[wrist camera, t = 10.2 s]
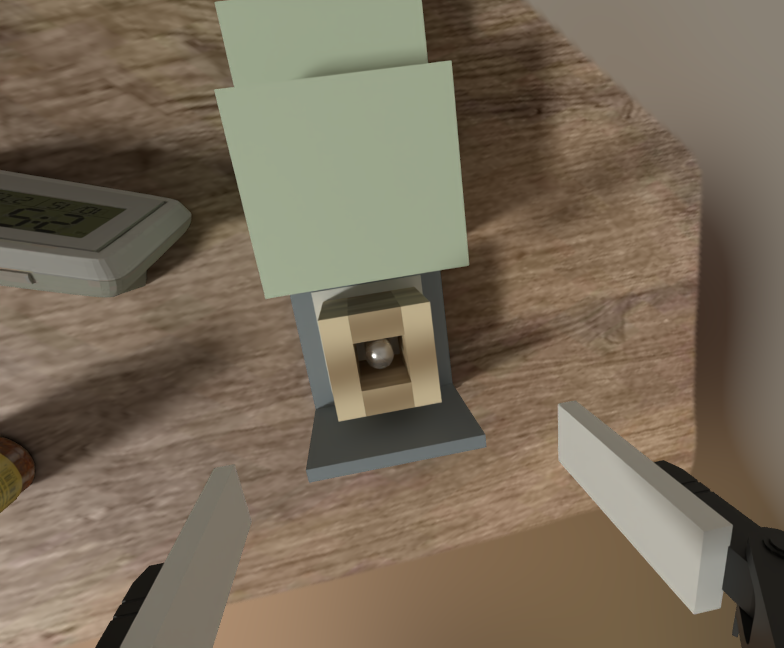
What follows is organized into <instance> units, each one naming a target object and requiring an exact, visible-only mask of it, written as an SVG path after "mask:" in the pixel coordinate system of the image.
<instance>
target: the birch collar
mask: <svg viewBox="0 0 784 648" xmlns="http://www.w3.org/2000/svg"><path fill="white" fill-rule="evenodd" d="M318 325H319V330H320V335H321V339H322V344H323V349H324V354H325V359H326V363H327V368H328V373H329V378H330V383H331V387H332V392H333V397H334V402H335V407H336V412H337V416H338V421H345V420H350V419H355V418H361V417H366V416H371V415H376V414H382V413H387V412H392V411H398V410H403V409H408V408H414V407H419V406H424V405H429V404H435V403H440V402H442V400H441V391H440V383H439V375H438V366H437V358H436V349H435V341H434V332H433V324H432V315H431V307H430V301H428V300H427V299H426V298H425V297H424V296H423V295H422V294H421V293H420V292H419V291H418V290H417V289H416V288H415V287H410V288H404V289H397V290H391V291H385V292H379V293H373V294H367V295H361V296H355V297H349V298H343V299H337V300H331V301H325V302H323V304H322V307H321V311H320V314H319V318H318ZM395 336H398V343H399V350H400V354H395V355H394V357H393V360H392V362H391V364H390V365H389V366H387V367H385V368H382V369H377V368H374V367H372V366H370V365H369V363H368V362H367V360H362V361H359V359H358V353H357V348H356V343H361V342H367V341H372V340H378V339H384V338H389V337H395Z"/></svg>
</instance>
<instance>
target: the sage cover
mask: <svg viewBox="0 0 784 648" xmlns="http://www.w3.org/2000/svg"><path fill="white" fill-rule="evenodd" d="M215 6H216V10H217V15H218V19H219V23H220V28H221V32H222V36H223V40H224V45H225V49H226V53H227V58H228V62H229V66H230V71H231V75H232V79H233V84H234V87H231V88H223V89H215V90H214V91H215V95H216V99H217V103H218V107H219V111H220V115H221V119H222V123H223V127H224V132H225V136H226V140H227V144H228V148H229V152H230V156H231V160H232V164H233V168H234V172H235V176H236V180H237V185H238V189H239V193H240V197H241V201H242V205H243V209H244V213H245V217H246V221H247V225H248V229H249V233H250V238H251V242H252V246H253V250H254V254H255V258H256V262H257V266H258V270H259V274H260V278H261V282H262V286H263V291H264V295H265V299H268V298H274V297H280V296H286V295H292V294H298V293H304V292H310V291H316V290H323V289H329V288H335V287H341V286H347V285H353V284H359V283H365V282H371V281H378V280H384V279H390V278H396V277H402V276H408V275H414V274H420V273H426V272H433V271H439V270H445V269H451V268H457V267H463V266H469V257H468V246H467V234H466V223H465V211H464V199H463V188H462V176H461V165H460V153H459V142H458V130H457V118H456V107H455V95H454V84H453V72H452V61H443V62H435V63H428V58H427V48H426V38H425V28H424V18H423V8H422V0H229V1H219V2H215Z"/></svg>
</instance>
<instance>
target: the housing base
mask: <svg viewBox="0 0 784 648" xmlns="http://www.w3.org/2000/svg"><path fill="white" fill-rule="evenodd" d="M410 287H415V288H416V289H417V290H418V291H419V292H420V293H421V294H422V295H423V296H424V297H425V298H426V299H427V300H428V301H430V307H431V315H432V324H433V332H434V341H435V349H436V358H437V366H438V375H439V383H440V391H441V400H442V402H440V403H435V404H429V405H424V406H419V407H414V408H408V409H403V410H398V411H392V412H387V413H382V414H376V415H371V416H366V417H361V418H355V419H350V420H345V421H338V416H337V412H336V407H335V402H334V397H333V392H332V387H331V383H330V378H329V373H328V368H327V363H326V359H325V354H324V349H323V344H322V339H321V335H320V330H319V325H318V318H319V314H320V311H321V307H322V304H323V302H325V301H331V300H337V299H343V298H349V297H355V296H361V295H367V294H373V293H379V292H385V291H391V290H397V289H404V288H410ZM290 298H291V302H292V306H293V311H294V315H295V320H296V324H297V329H298V333H299V337H300V342H301V346H302V351H303V355H304V360H305V364H306V368H307V373H308V377H309V382H310V386H311V391H312V395H313V399H314V404H315V408H316V411H315V417H314V423H313V430H312V436H311V442H310V448H309V455H308V461H307V467H306V472H307V476H308V480H309V482H314V481H319V480H324V479H329V478H334V477H339V476H344V475H349V474H354V473H359V472H364V471H369V470H374V469H379V468H384V467H389V466H394V465H399V464H404V463H409V462H414V461H419V460H424V459H429V458H434V457H439V456H444V455H449V454H454V453H459V452H464V451H469V450H474V449H479V448H484V447H486V438H485V434H484V432H483V430H482V429H481V427H480V426H479V424H478V423H477V421H476V420H475V418H474V416H473V415H472V413H471V412H470V410H469V409H468V407H467V406H466V404H465V403H464V401H463V399H462V398H461V396H460V395H459V393H458V392H457V390H456V389H455V387H454V385H453V384H452V375H451V365H450V356H449V347H448V338H447V329H446V319H445V310H444V301H443V292H442V282H441V273H440V270H439V271H433V272H426V273H420V274H414V275H408V276H402V277H396V278H390V279H384V280H378V281H371V282H365V283H359V284H353V285H347V286H341V287H335V288H329V289H323V290H316V291H310V292H304V293H298V294H292V295H290ZM388 339H389V341H390V344H391V347H392V350H393V353H394V355H395V354H400V350H399V343H398V336H395V337H389V338H388ZM356 348H357V353H358V359H359V361H362V360H367V359H366V353H365V346H364V342H361V343H356Z"/></svg>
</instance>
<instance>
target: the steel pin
mask: <svg viewBox="0 0 784 648" xmlns="http://www.w3.org/2000/svg"><path fill="white" fill-rule="evenodd" d="M364 346H365V353H366V359H367V362H368V363H369V365H370V366H372V367H374V368H377V369H382V368H385V367H387V366H389V365H390V364H391V362H392V360H393V357H394V353H393V350H392V347H391V344H390V341H389V339H388V338H384V339H378V340H372V341H367V342H364Z"/></svg>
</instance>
